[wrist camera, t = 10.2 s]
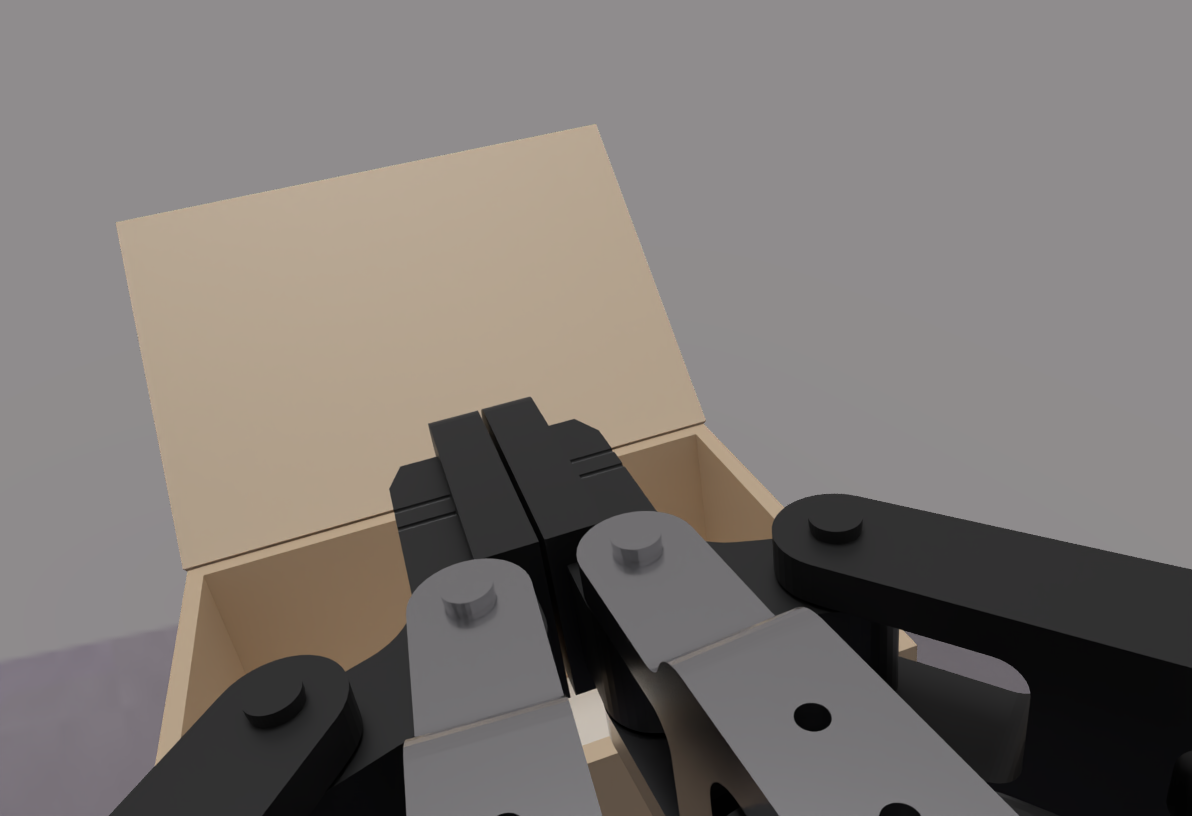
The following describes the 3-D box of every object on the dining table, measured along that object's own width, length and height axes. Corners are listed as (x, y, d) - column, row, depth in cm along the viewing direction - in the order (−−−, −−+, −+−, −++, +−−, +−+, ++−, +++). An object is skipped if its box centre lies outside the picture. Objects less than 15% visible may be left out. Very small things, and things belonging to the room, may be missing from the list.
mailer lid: (115, 222, 30) (123, 232, 31) (183, 569, 27) (190, 572, 28) (596, 123, 34) (593, 135, 35) (706, 420, 31) (701, 426, 31)
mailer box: (273, 1166, 21) (127, 928, 17) (277, 776, 31) (187, 570, 27) (909, 895, 24) (916, 645, 20) (723, 626, 35) (703, 423, 31)
